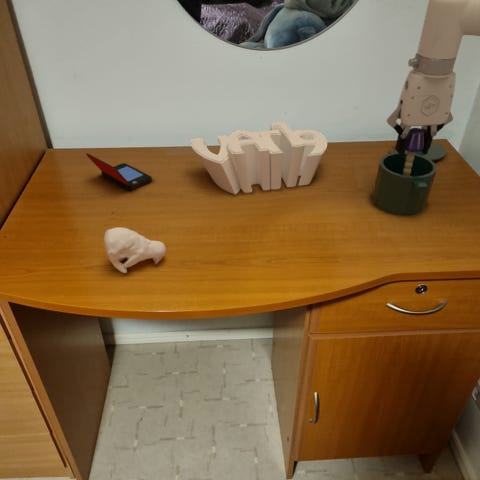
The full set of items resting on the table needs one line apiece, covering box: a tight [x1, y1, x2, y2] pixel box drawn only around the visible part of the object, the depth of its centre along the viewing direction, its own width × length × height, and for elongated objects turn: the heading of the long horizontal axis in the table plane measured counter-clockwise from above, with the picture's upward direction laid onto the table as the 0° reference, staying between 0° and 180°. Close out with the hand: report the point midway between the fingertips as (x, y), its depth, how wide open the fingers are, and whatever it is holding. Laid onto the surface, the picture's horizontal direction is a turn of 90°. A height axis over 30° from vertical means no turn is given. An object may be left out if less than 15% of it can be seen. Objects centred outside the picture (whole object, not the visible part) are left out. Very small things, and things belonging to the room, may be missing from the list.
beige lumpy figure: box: [103, 227, 167, 274], centre depth 96 cm, size 6×8×12 cm
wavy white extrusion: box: [190, 121, 328, 195], centre depth 122 cm, size 35×16×11 cm, turn 102°
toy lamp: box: [403, 127, 424, 176], centre depth 111 cm, size 5×5×17 cm
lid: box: [405, 126, 447, 162], centre depth 134 cm, size 14×14×7 cm
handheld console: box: [86, 153, 153, 191], centre depth 122 cm, size 12×11×7 cm
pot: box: [371, 149, 438, 216], centre depth 114 cm, size 13×18×10 cm
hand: (411, 151), depth 108 cm, fingers closed on toy lamp, 4 cm apart
